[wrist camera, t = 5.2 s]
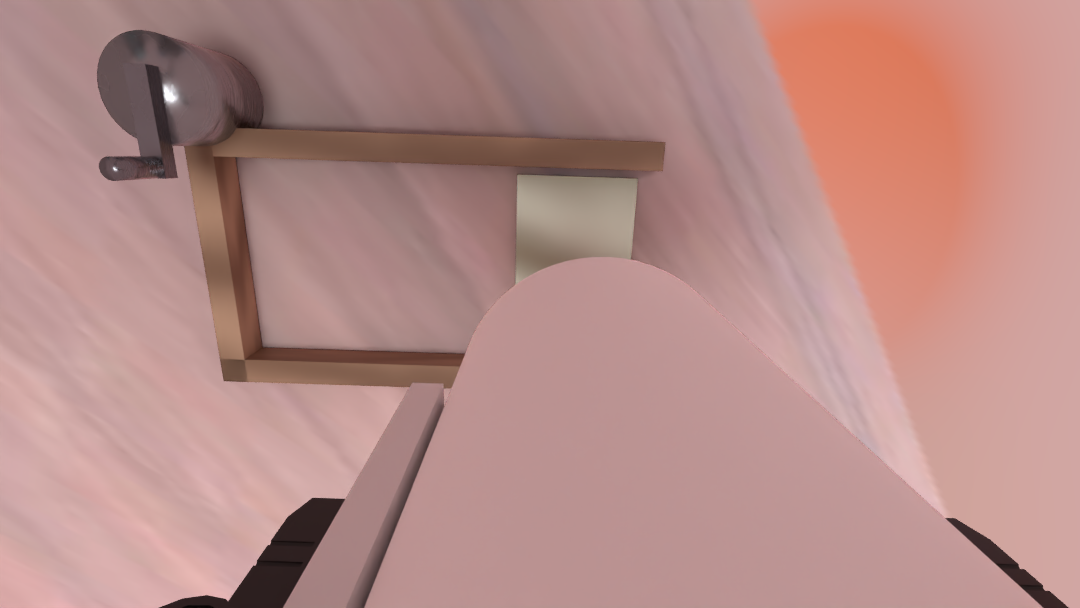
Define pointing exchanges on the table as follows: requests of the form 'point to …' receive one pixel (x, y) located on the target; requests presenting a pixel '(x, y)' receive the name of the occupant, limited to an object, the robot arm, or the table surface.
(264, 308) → the table surface
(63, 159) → the table surface
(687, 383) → the cup
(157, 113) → the winch drum
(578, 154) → the frame
